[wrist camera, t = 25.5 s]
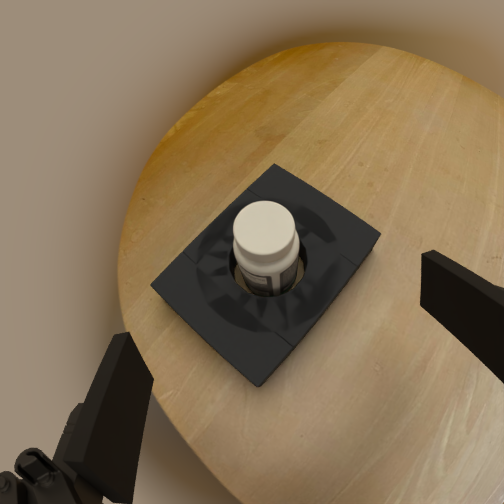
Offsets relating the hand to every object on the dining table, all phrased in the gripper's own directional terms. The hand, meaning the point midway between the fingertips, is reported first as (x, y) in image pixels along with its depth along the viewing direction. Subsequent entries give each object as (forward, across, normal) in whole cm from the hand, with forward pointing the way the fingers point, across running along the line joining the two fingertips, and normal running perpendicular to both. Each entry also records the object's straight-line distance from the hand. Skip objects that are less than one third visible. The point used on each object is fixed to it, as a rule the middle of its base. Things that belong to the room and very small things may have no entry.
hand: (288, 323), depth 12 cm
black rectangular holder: (+14, +1, -4) cm, 15 cm away
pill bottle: (+14, +1, -4) cm, 15 cm away
